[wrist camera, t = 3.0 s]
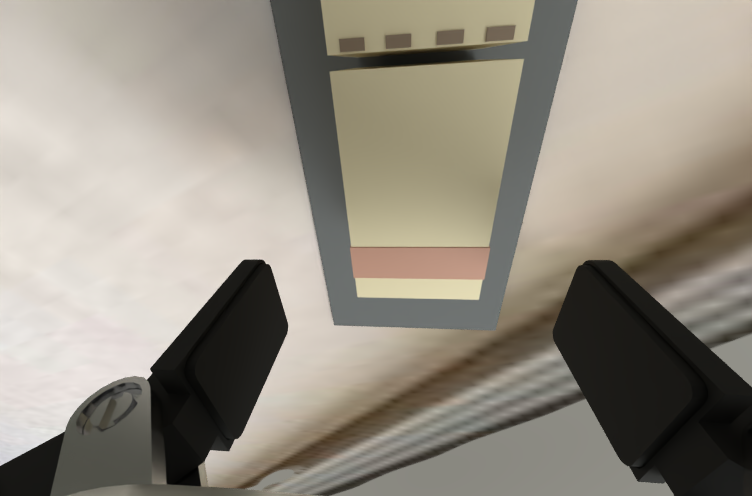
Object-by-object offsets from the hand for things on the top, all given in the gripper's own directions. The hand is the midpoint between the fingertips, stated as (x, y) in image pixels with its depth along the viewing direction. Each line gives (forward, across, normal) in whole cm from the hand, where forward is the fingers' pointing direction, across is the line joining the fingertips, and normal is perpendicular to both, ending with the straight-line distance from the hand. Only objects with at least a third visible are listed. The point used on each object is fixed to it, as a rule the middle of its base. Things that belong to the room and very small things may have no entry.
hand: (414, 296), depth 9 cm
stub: (+9, 0, -2) cm, 9 cm away
